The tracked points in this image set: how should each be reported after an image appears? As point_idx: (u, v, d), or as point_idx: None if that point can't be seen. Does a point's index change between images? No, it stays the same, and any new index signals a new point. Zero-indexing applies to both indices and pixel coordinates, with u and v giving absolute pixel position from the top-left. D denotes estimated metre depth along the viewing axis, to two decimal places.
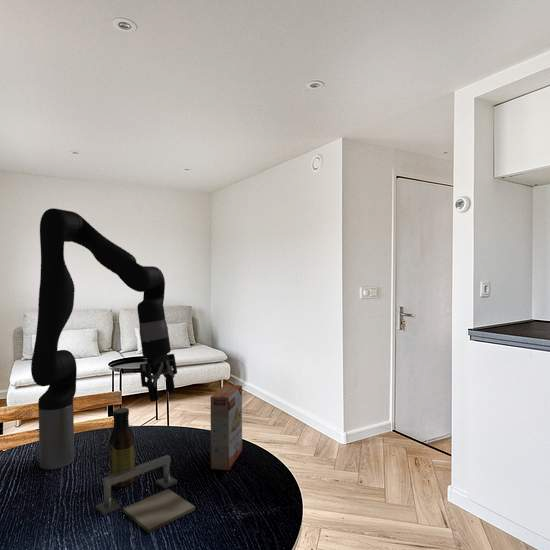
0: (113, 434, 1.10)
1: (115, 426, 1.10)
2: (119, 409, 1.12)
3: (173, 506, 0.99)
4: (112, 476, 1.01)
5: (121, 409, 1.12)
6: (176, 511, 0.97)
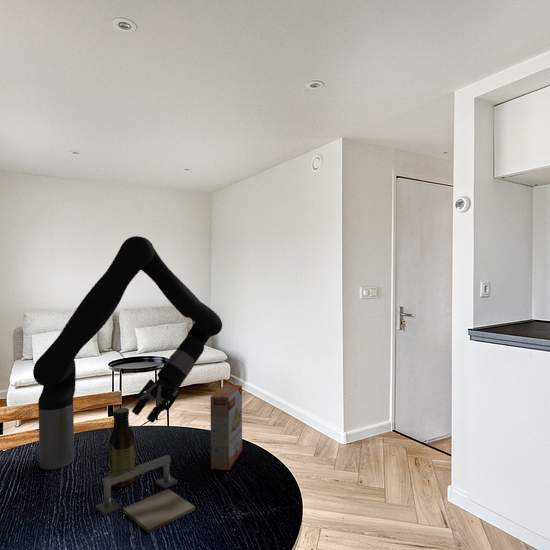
0: (113, 434, 1.10)
1: (115, 426, 1.10)
2: (120, 408, 1.12)
3: (173, 506, 0.99)
4: (112, 476, 1.01)
5: (121, 409, 1.12)
6: (176, 511, 0.97)
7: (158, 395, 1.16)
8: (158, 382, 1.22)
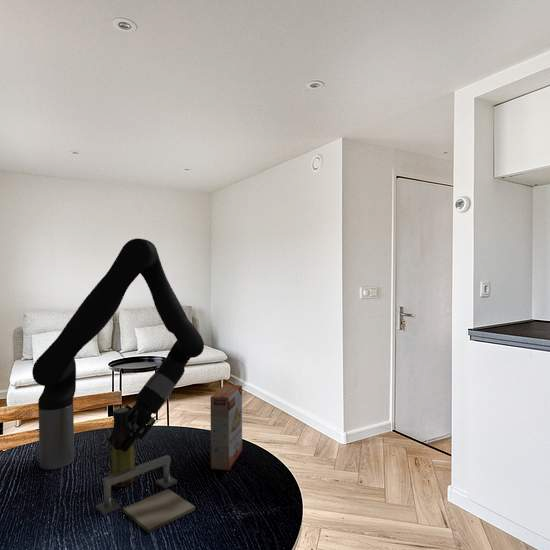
0: (113, 434, 1.10)
1: (115, 426, 1.10)
2: (119, 409, 1.12)
3: (173, 506, 0.99)
4: (112, 476, 1.01)
5: (121, 409, 1.12)
6: (176, 511, 0.97)
7: (133, 422, 1.11)
8: (135, 407, 1.17)
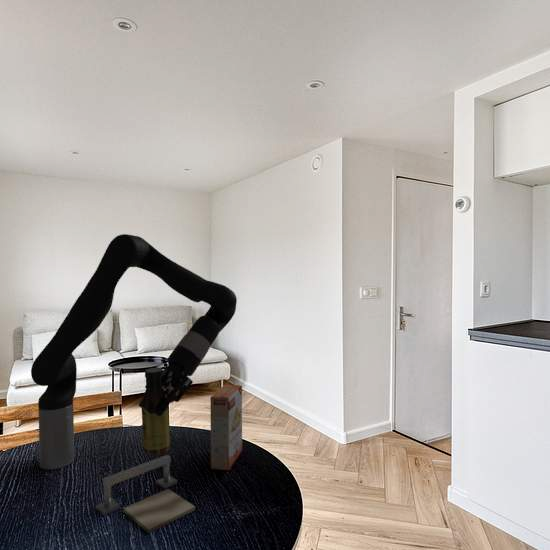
0: (146, 396, 0.98)
1: (148, 387, 0.98)
2: (152, 369, 1.00)
3: (173, 506, 0.99)
4: (112, 476, 1.01)
5: (154, 369, 1.00)
6: (176, 511, 0.97)
7: (167, 384, 0.99)
8: (168, 368, 1.05)
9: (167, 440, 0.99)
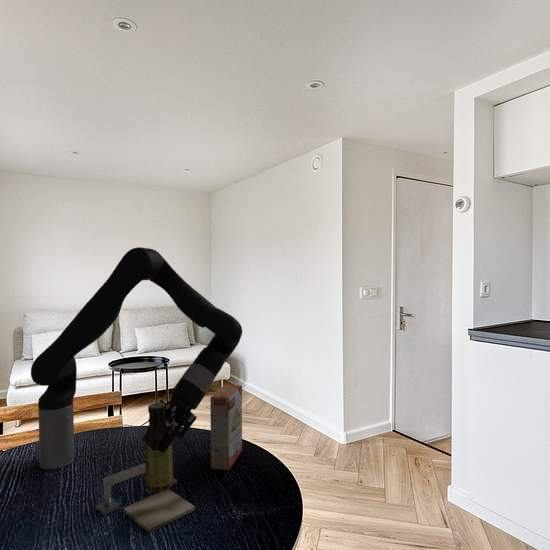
0: (149, 432, 0.97)
1: (151, 423, 0.97)
2: (155, 403, 0.99)
3: (173, 506, 0.99)
4: (112, 476, 1.01)
5: (157, 404, 0.99)
6: (176, 511, 0.97)
7: (171, 419, 0.98)
8: (172, 402, 1.03)
9: (170, 476, 0.98)
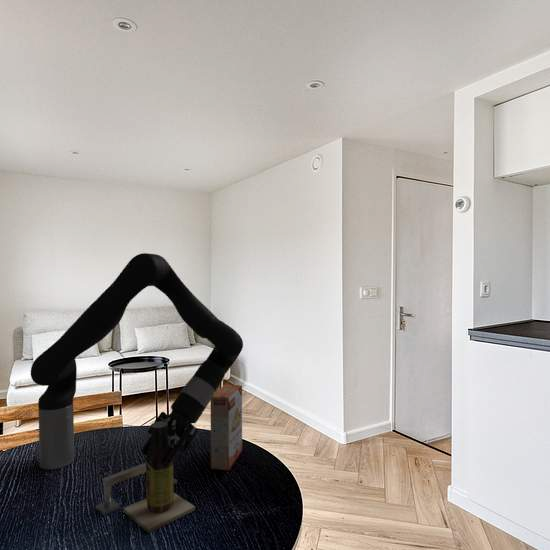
0: (151, 452, 0.97)
1: (153, 443, 0.97)
2: (157, 422, 0.99)
3: (173, 506, 0.99)
4: (112, 476, 1.01)
5: (159, 423, 0.99)
6: (176, 511, 0.97)
7: (172, 433, 0.98)
8: (172, 416, 1.03)
9: (171, 496, 0.98)
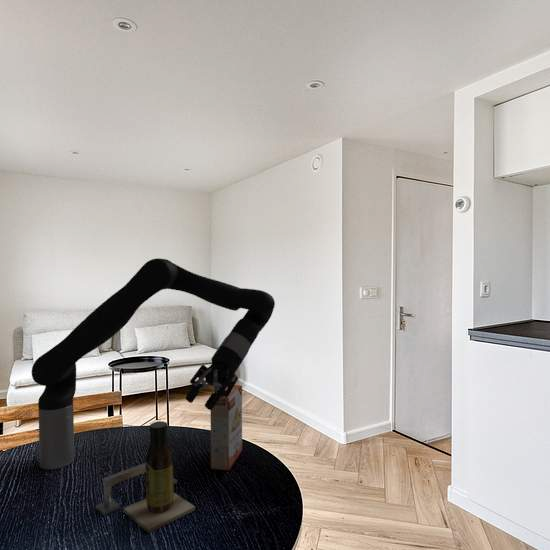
0: (150, 452, 0.97)
1: (152, 443, 0.97)
2: (157, 422, 0.99)
3: (173, 506, 0.99)
4: (112, 476, 1.01)
5: (159, 423, 0.99)
6: (176, 511, 0.97)
7: (215, 380, 1.07)
8: (212, 367, 1.12)
9: (171, 496, 0.98)
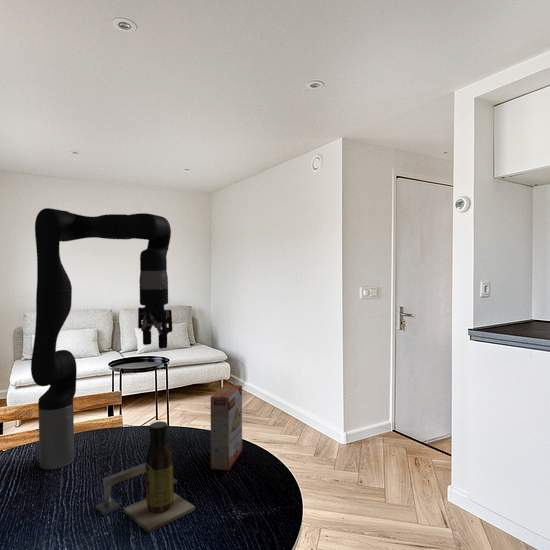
0: (150, 452, 0.96)
1: (152, 443, 0.96)
2: (156, 423, 0.99)
3: (173, 506, 0.99)
4: (112, 476, 1.01)
5: (159, 423, 0.99)
6: (176, 511, 0.97)
7: (154, 323, 1.11)
8: (147, 309, 1.15)
9: (171, 496, 0.98)
